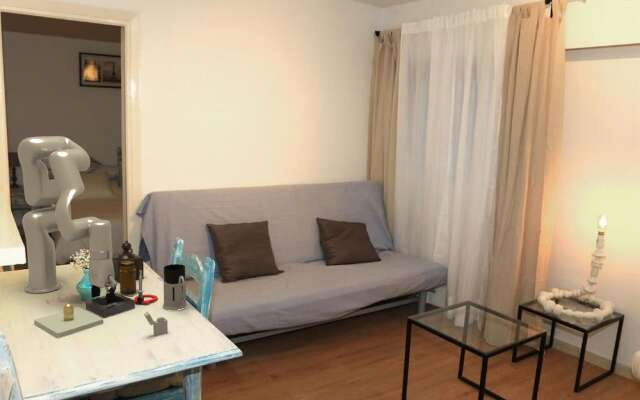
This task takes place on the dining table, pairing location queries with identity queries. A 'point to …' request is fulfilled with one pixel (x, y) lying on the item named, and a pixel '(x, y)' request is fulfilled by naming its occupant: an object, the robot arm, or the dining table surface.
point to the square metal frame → (100, 309)
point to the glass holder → (174, 287)
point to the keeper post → (68, 312)
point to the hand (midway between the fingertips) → (103, 299)
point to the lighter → (157, 324)
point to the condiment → (127, 279)
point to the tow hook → (140, 297)
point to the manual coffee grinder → (127, 257)
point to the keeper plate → (68, 322)
